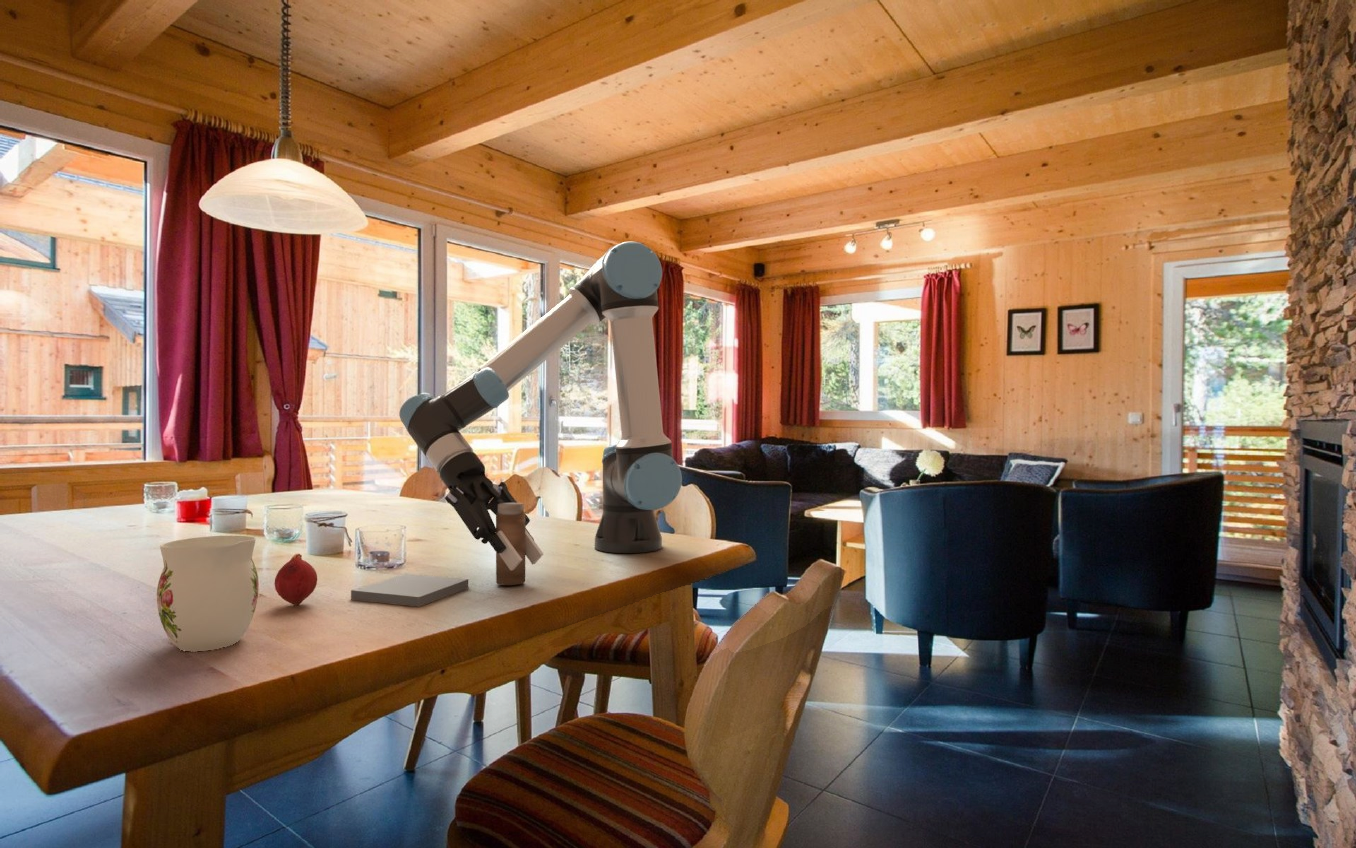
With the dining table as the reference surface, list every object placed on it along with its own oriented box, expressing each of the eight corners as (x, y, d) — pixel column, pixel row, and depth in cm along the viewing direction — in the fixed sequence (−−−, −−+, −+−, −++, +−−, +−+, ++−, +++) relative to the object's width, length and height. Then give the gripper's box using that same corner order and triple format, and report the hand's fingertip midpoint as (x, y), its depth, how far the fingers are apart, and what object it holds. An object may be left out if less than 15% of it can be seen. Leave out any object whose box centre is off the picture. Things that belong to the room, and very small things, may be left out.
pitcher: (236, 619, 104) (236, 524, 104) (275, 648, 91) (275, 540, 91) (142, 635, 96) (142, 533, 96) (171, 670, 84) (171, 551, 84)
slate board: (405, 582, 128) (405, 573, 128) (468, 587, 124) (468, 579, 124) (351, 599, 116) (351, 590, 116) (419, 606, 112) (419, 597, 112)
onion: (304, 610, 109) (304, 557, 109) (266, 610, 109) (266, 557, 109) (324, 600, 115) (324, 550, 115) (288, 600, 115) (288, 550, 115)
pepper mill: (506, 577, 130) (505, 502, 130) (530, 579, 128) (530, 503, 128) (490, 583, 125) (490, 505, 125) (515, 586, 124) (515, 506, 123)
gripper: (481, 474, 142) (548, 566, 134) (407, 481, 126) (478, 586, 118) (501, 447, 139) (571, 540, 131) (429, 452, 123) (503, 557, 116)
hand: (527, 562), depth 125 cm, fingers closed on pepper mill, 5 cm apart
